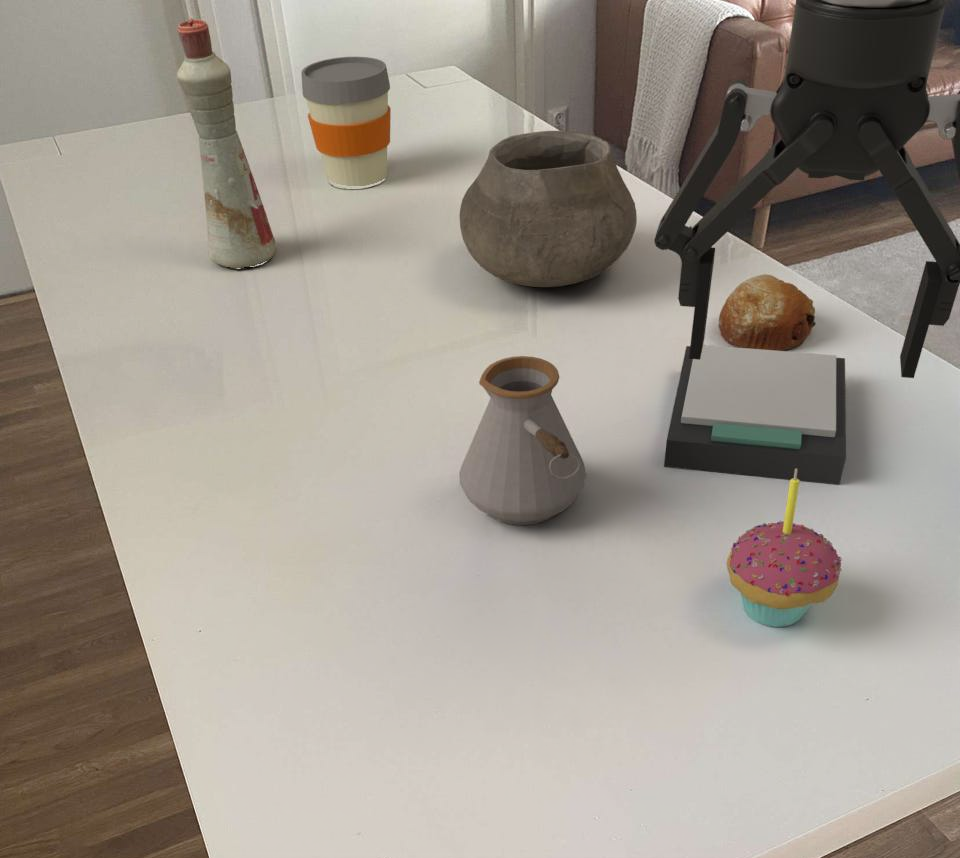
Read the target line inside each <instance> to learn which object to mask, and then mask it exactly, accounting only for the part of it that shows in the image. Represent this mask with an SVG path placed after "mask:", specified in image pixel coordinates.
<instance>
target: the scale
mask: <svg viewBox="0 0 960 858" xmlns="http://www.w3.org/2000/svg"><path fill="white" fill-rule="evenodd" d="M689 353H690V345H687V346H685V352H684V355H683V359H682V360H683V361H682V364H681V365H682V366H681V370H680V375H679V379H678V383H677V389H676V394H675V399H674V403H673V408H672V411H671V412H672V413H671V416H670V417H671V418H670V422H669V427H668V432H667V437H666V443H665V452H664V460H663V462H664V463H663V467H665V468H674V469H682V470H683V469H685V470H693V471H694V470H695V471H702V472H712V473H713V472H714V473H721V474H733V475H743V476H751V477H762V478H771V479H781V480H789V481H790V480H791V479H792V478H794V473H795V469H797V470H798V471H797V479H799V482H810V483H820V484H822V483H823V484H829V485H840V483H841V479H842V476H843V471H844V468H845V464H846V459H847V426H846V425H847V422H846V421H847V420H846V419H847V418H846V416H847V415H846V413H847V412H846V410H847V409H846V406H847V405H846V358H844V357H837V355H836V354H825V353H812V352H800V351H799V352H797V351H787V350H783V351H775V350H762V349H749V348H738V347H736V346H721V345H711V344H709V345H708V344H703V348H702V353H701V358H700V360H698V359H689Z"/></svg>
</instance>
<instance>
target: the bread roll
mask: <svg viewBox="0 0 960 858" xmlns="http://www.w3.org/2000/svg"><path fill="white" fill-rule="evenodd" d="M813 303H814V300H812V299H811V298H810V297H808V296H807V294H806V293H804V292H803V291H802V290H801V289H799V288H798V286H796V285H795V284H793V283H789V282H785V281H784V280H781V279H780V278H778V277H776V276H774V275H771V274H767V273H763V274H759V275H755V276H752V277H750V278H748V279H746V280H745V281H742V282H741V283H739V285H738V286H737V287H735V289H734V290H733V291H732V292H731V293H730V294H729V295H728V297H727V298H726V300H725V303H724V304H723V305H722V308H721V309H720V312H719V315H718V326H717V327H718V329H719V332H720V336H721V337H722V338H723V340H724V341H725V342H726V343H727V342H728V343H727V344H729V345H732V346H733V345H734V346H733V347H736V348H738V347H739V348H749V349H762V350H775V351H787V350H791V349H794V348H796V347H798V346H800V345H801V344H802V343H803V342H805V340H807V338H808V336H809V335H810V334H811V332H812V330H813V328H814V327H815V326H816V321H815V319H816V317H815V314H816V309H815V307H814V304H813ZM793 347H794V348H793Z"/></svg>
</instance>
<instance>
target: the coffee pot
mask: <svg viewBox="0 0 960 858" xmlns="http://www.w3.org/2000/svg"><path fill="white" fill-rule="evenodd" d="M559 373H560V372H559V370H558V369H557V367H556V366H555V365H554V364H553V363H552V362H550V361H548V360H546V359H543V358H541V357H536V356H525V355H520V356H519V355H518V356H509V357H504V358H502V359H499V360H496V361H494V362H493V363H491V364H489V365H488V366H487V367H486V368H485V369H484V371H483V372H482V374H481V376H480V379H479V381H478V384H479V385H480V386H481V387H482V388H483V389H484V390H485V392H486V393H487V395H488V396H489V401H488V403H487V406H486V408H485V410H484V413H483V415H482V417H481V419H480V422H479V424H478V426H477V429H476V431H475V433H474V436H473V438H472V440H471V443H470V444H469V448H468V450H467V452H466V455H465V457H464V459H463V461H462V464H461V467H460V470H459V485H460V487H461V489H462V491H463V494H464V495H465V496H466V498H467V499H468V501H469V502H470V503H471V504H472V505H473V506H474V507H475V508H476V509H478V510H479V511H481V512H483V513H485V514H486V515H488V516H490V517H491V518H493V519H494V520H497V521H499V522H502V523H505V524H509V525H518V526H525V525H534V524H535V525H536V524H538V523H543V522H545V521H547V520H549V519H552V518H554V517H555V516H556V515H558V514H560V513H561V512H563V511H564V510H565V509H567V508H568V507H569V506H571V505H572V504H573V503H574V502H575V501H576V500H577V498H578V497H579V495H580V493H581V492H582V491H583V488H584V487H585V482H586V478H587V471H586V467H585V462H584V460H583V457H582V456H581V453H580V451H579V449H578V447H577V445H576V443H575V441H574V439H573V436H572V435H571V433H570V430H569V428H568V427H567V425H566V422H565V420H564V418H563V416H562V414H561V413H560V410H559V408H558V406H557V403H556V402H555V400H554V398H553V396H552V393H553V389H555V387H556V386H557V385H558V383H559V380H560V374H559Z"/></svg>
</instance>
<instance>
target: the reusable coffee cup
mask: <svg viewBox="0 0 960 858" xmlns="http://www.w3.org/2000/svg"><path fill="white" fill-rule="evenodd" d="M301 88H302V89H301V90H302V96H303V98H304V99H305V100H306V104H307V108H308V112H309V113H308V115H307V118H308V122H309V126H310V130H311V133H312V137H313V140H314V145H315V148H316V150H317V151H318V152H319V153H320V156H321V160H322V163H323V164H322V165H323V168H324V171H325V175H326V178H328V179H327V181H328V180H330V181H331V182H333V183H336V184H340V185H346V186H366V185H370V184H374V183H377V182H379V181H382V180H383V179H385V178H386V177H387V178H388V146H389V145H390V143H391V112H392V111H391V107H390V105H388V104H389V91H390V89H391V84H390V79H389V73H388V67H387V64H386V63H385V62H384V61H383V60H382V59H381V60H380V59H378V58H373V57H369V56H341V57H333V58H328V59H323V60H318V61H316V62H313V63H311V64H310V63H309V64H308V65H307V66H305V67H304V68H303V69H302V70H301Z"/></svg>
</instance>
